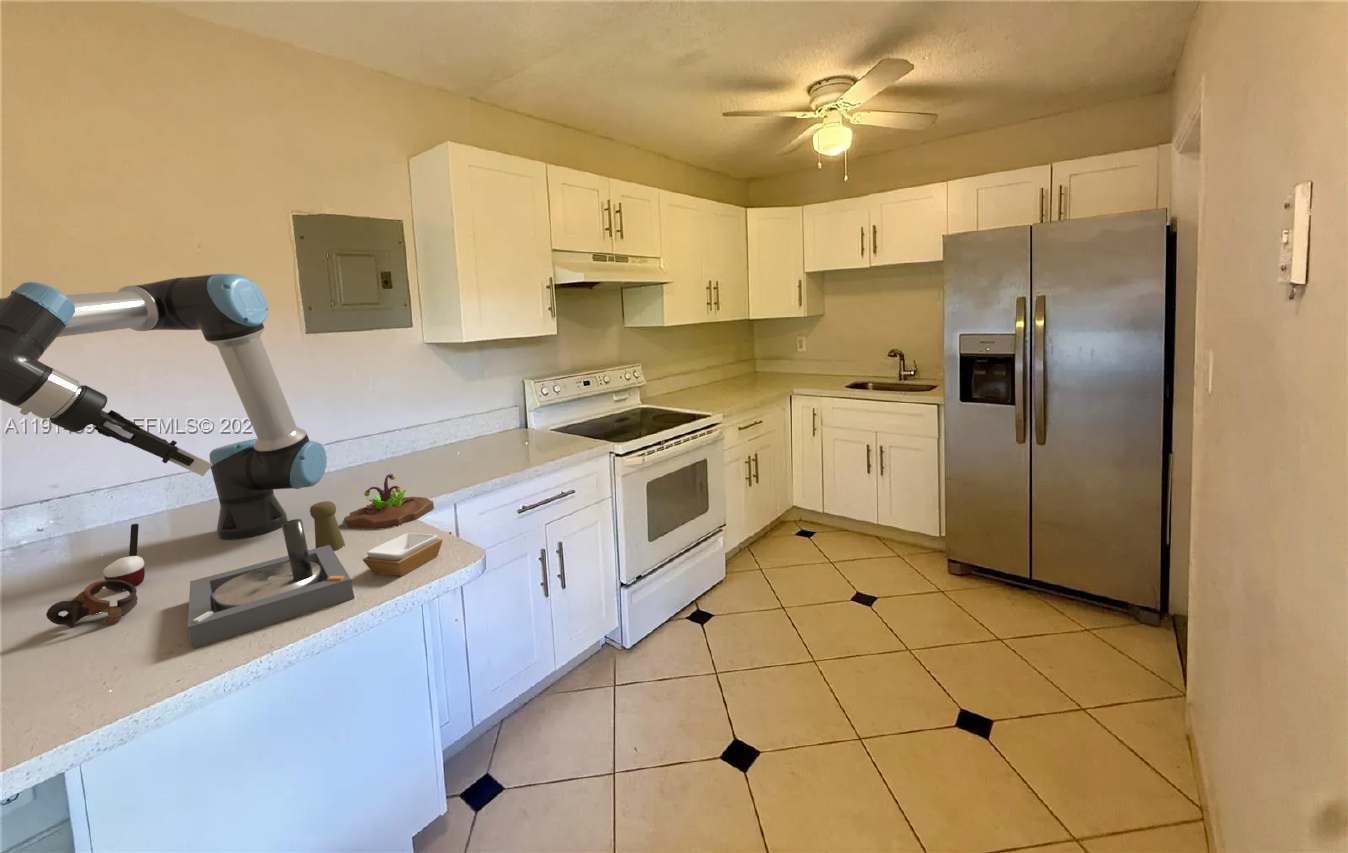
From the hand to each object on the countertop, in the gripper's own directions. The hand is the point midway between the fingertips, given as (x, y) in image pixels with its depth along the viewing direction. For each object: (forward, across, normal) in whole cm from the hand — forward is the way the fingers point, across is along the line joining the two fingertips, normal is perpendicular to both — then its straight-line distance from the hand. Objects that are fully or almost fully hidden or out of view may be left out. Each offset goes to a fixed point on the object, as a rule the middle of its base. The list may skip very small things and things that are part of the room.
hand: (206, 469), depth 117 cm
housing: (+17, +17, -14) cm, 28 cm away
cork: (+32, -1, -4) cm, 33 cm away
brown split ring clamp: (+4, -3, -32) cm, 33 cm away
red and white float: (+11, -19, -29) cm, 36 cm away
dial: (+16, +17, -13) cm, 27 cm away
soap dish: (+33, +25, +2) cm, 41 cm away
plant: (+48, -11, +8) cm, 50 cm away
